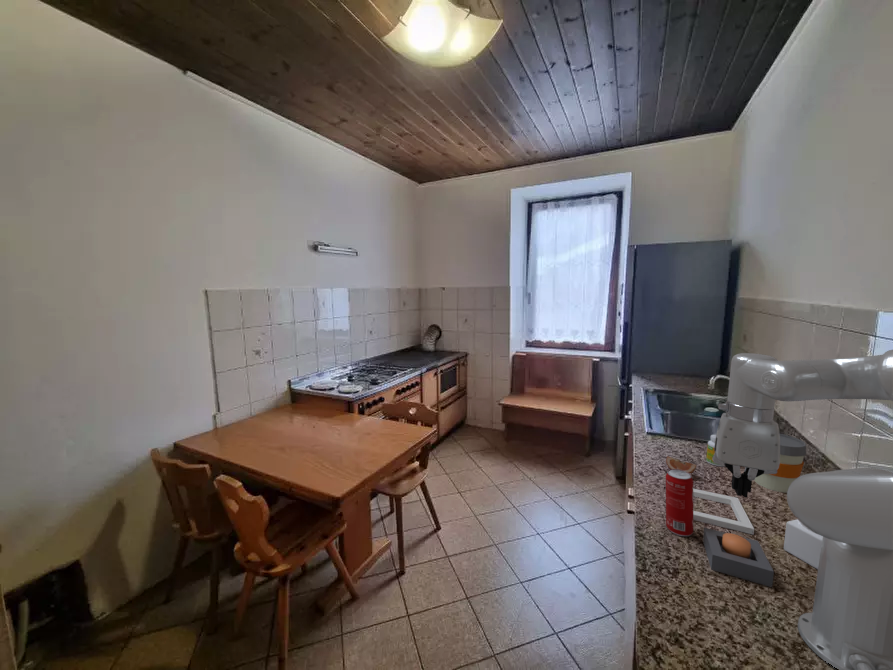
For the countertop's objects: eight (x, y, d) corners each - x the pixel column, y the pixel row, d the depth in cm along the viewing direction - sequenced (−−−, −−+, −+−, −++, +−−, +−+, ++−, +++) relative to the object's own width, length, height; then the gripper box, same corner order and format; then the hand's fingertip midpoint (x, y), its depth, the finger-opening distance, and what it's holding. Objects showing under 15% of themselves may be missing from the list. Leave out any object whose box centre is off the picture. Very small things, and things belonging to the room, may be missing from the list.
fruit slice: (697, 475, 115) (698, 461, 114) (692, 483, 110) (694, 468, 110) (668, 466, 121) (669, 452, 120) (662, 473, 116) (663, 459, 116)
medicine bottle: (822, 572, 74) (829, 520, 73) (782, 549, 81) (788, 501, 80) (844, 566, 76) (851, 514, 75) (803, 543, 83) (809, 496, 82)
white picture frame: (753, 534, 86) (754, 529, 86) (681, 516, 93) (681, 511, 93) (737, 502, 100) (737, 497, 99) (675, 489, 106) (675, 484, 106)
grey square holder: (772, 587, 71) (773, 571, 70) (711, 569, 75) (712, 554, 75) (756, 555, 80) (758, 540, 79) (702, 540, 84) (704, 527, 84)
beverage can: (697, 539, 85) (702, 481, 83) (668, 535, 86) (672, 478, 84) (686, 523, 91) (690, 469, 89) (658, 520, 92) (662, 466, 90)
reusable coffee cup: (736, 477, 113) (741, 433, 112) (764, 472, 117) (769, 429, 115) (782, 498, 101) (788, 449, 100) (812, 492, 105) (818, 444, 103)
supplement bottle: (702, 461, 124) (704, 435, 123) (711, 458, 127) (713, 432, 125) (719, 468, 119) (722, 441, 118) (728, 464, 122) (731, 438, 121)
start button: (752, 562, 74) (754, 551, 74) (724, 554, 76) (725, 543, 76) (746, 547, 78) (747, 537, 78) (719, 540, 80) (720, 530, 80)
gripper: (709, 411, 74) (701, 493, 76) (805, 424, 67) (793, 513, 69) (702, 402, 80) (695, 477, 83) (789, 412, 73) (779, 493, 76)
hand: (740, 493), depth 76 cm, fingers closed
